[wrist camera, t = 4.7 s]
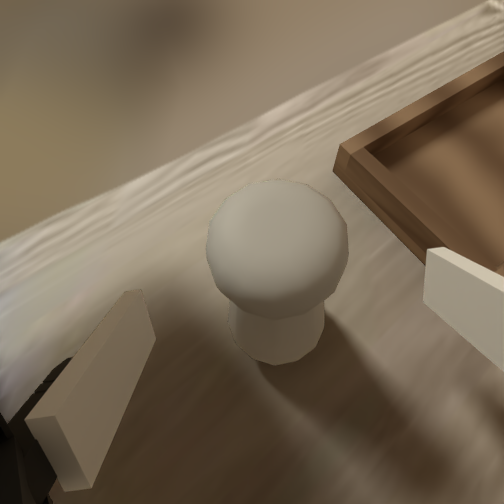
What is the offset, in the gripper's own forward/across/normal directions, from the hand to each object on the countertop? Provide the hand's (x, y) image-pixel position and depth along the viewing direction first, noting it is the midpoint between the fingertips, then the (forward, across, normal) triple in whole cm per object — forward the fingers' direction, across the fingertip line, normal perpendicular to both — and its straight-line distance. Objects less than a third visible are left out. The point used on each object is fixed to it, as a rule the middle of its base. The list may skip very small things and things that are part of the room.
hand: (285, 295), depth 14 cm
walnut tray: (+12, +18, +2) cm, 21 cm away
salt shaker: (+5, 0, -5) cm, 7 cm away
